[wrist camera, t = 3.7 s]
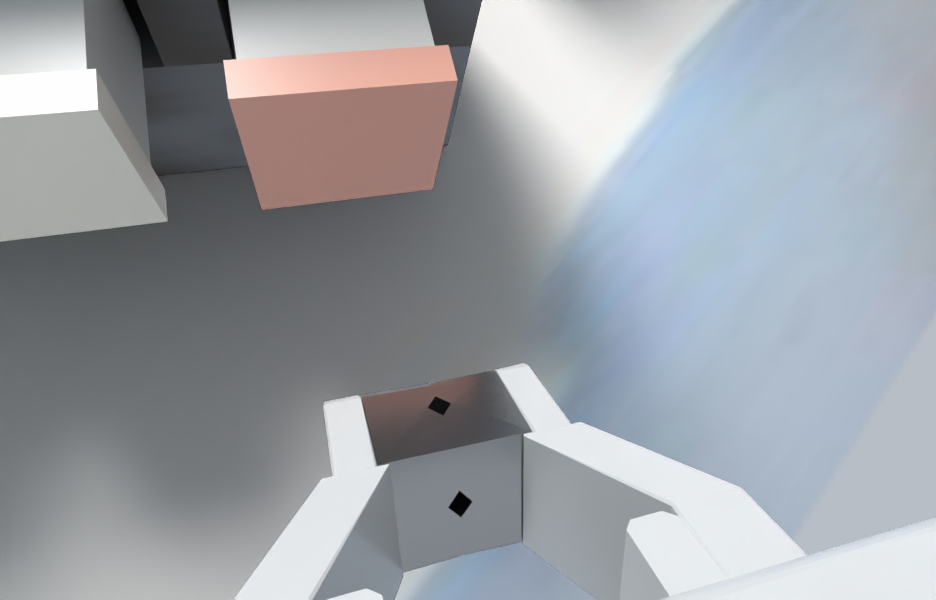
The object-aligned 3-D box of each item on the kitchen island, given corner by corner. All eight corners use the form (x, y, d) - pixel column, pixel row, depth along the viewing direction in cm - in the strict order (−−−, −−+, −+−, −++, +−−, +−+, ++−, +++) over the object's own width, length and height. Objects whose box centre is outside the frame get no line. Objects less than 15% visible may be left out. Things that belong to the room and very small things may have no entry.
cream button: (-41, 246, 13) (-201, 133, 9) (-37, 56, 14) (-176, -109, 11) (168, 221, 14) (97, 109, 10) (151, 45, 15) (85, -110, 11)
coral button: (261, 209, 14) (228, 99, 11) (237, 39, 16) (200, -112, 12) (432, 189, 15) (458, 80, 11) (395, 30, 17) (406, -113, 13)
